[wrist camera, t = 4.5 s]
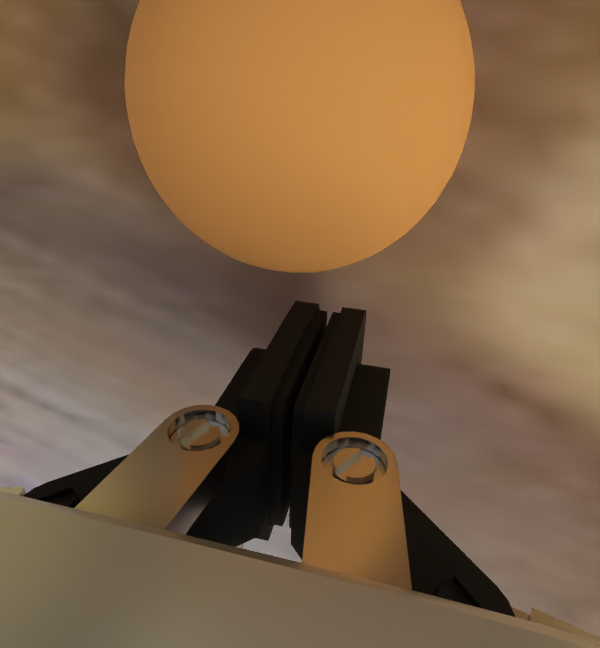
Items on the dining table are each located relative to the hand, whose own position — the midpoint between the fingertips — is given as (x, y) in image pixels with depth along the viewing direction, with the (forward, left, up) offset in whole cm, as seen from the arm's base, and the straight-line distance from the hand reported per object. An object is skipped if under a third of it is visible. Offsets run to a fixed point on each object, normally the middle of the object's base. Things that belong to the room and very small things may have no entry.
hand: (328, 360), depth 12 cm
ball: (+1, -6, +1) cm, 6 cm away
